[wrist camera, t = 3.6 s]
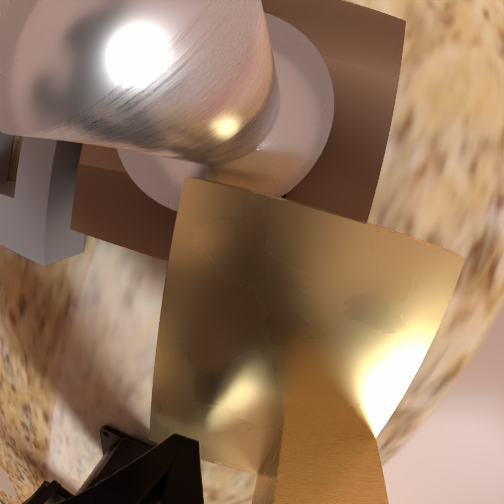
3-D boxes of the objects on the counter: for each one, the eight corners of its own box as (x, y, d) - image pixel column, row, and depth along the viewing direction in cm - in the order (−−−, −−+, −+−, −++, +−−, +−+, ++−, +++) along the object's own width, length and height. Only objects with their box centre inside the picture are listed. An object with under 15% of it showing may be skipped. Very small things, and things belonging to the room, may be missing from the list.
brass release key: (336, 468, 9) (336, 600, 3) (159, 423, 10) (86, 542, 4) (448, 249, 7) (613, 348, 1) (198, 177, 8) (-4, 177, 2)
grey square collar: (84, 251, 14) (43, 266, 11) (-13, 212, 15) (-46, 219, 12) (125, 53, 11) (90, 30, 8) (13, 67, 12) (-19, 59, 9)
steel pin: (299, 225, 12) (310, 385, 2) (150, 188, 12) (-77, 215, 3) (336, 74, 10) (399, -130, 1) (187, 50, 11) (37, -89, 1)
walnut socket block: (329, 281, 12) (338, 309, 9) (111, 219, 13) (70, 229, 10) (385, 52, 10) (405, 21, 7) (164, 18, 11) (135, -12, 8)
